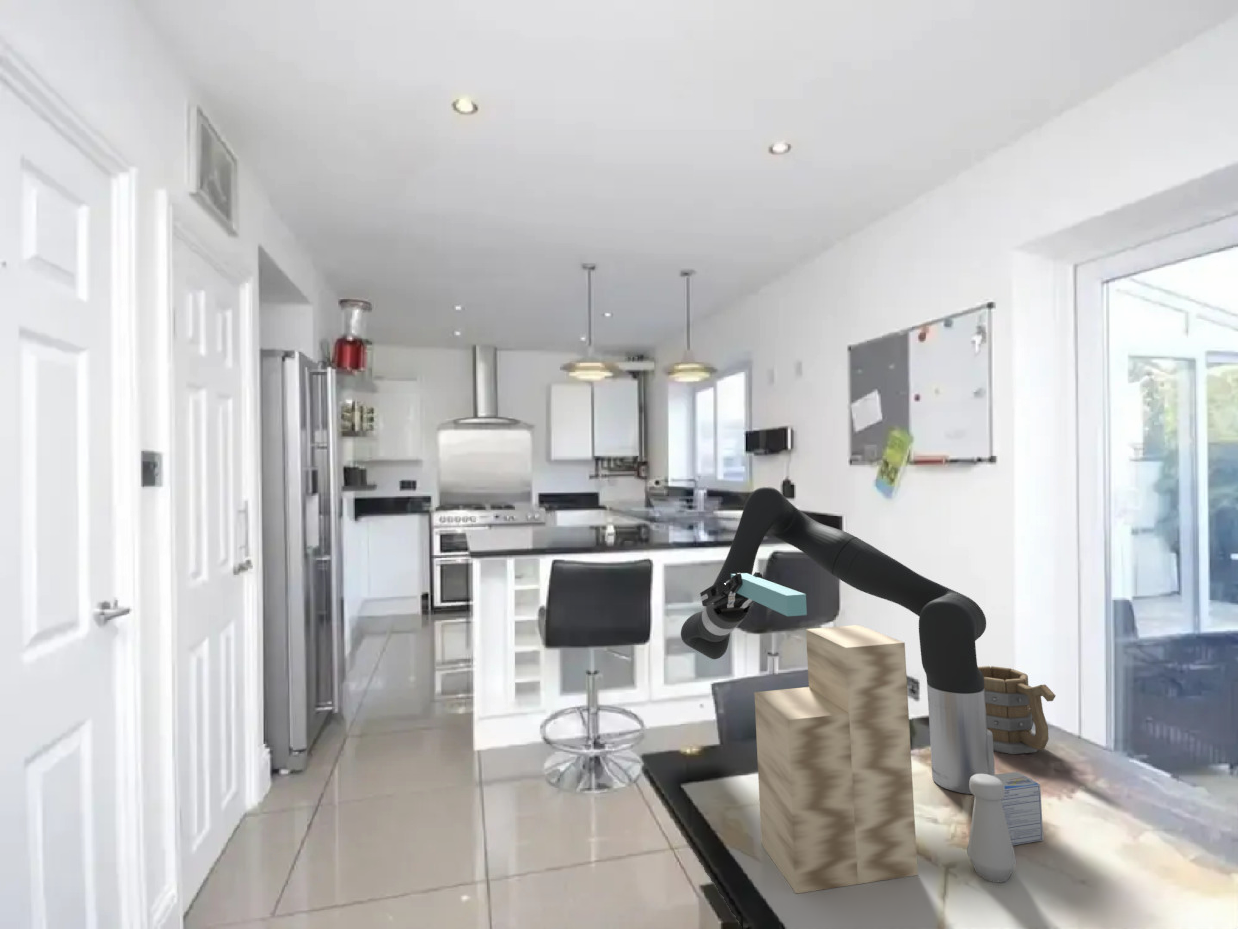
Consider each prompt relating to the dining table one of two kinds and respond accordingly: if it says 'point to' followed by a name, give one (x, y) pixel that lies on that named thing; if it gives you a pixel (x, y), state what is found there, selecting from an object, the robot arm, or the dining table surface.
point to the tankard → (1014, 710)
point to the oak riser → (839, 764)
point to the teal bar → (773, 595)
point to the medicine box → (1022, 807)
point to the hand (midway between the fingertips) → (749, 577)
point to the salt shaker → (990, 830)
